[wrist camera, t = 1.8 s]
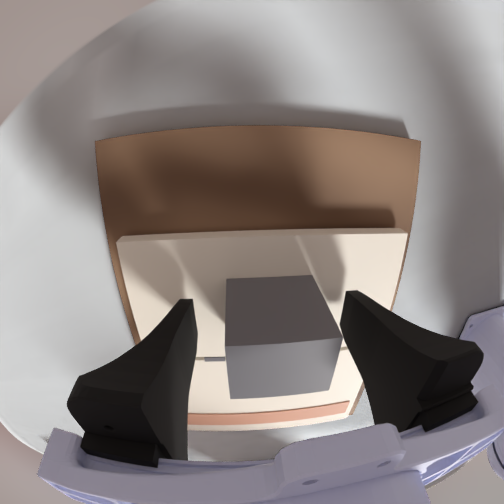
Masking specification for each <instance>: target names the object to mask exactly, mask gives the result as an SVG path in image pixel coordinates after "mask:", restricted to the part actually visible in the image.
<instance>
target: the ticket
mask: <svg viewBox="0 0 504 504" xmlns="http://www.w3.org/2000/svg"><path fill="white" fill-rule="evenodd" d="M362 382H363V380H362V377H361V375H360V373H359V371H358V369H357V366H356V364H355V362H354V360H353V358H352V356H351V354H350V352H349V350H348V348H347V346H346V347H341V348H340V352H339V356H338V360H337V364H336V368H335V371H334V375H333V378H332V382H331V385H330V389H329V390H328V391H321V392H314V393H306V394H298V395H289V396H278V397H266V398H249V399H230V392H229V383H228V374H227V365H226V356H225V357H196V358H195V364H194V369H193V374H192V380H191V385H190V391H189V401H188V425H187V430H189V431H246V430H263V429H275V428H285V427H294V426H302V425H309V424H316V423H322V422H328V421H334V420H339V419H344V418H347V417H348V415H349V413H350V411H351V408H352V406H353V404H354V401H355V399H356V397H357V394H358V392H359V390H360V387H361V385H362Z"/></svg>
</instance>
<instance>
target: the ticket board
mask: <svg viewBox="0 0 504 504" xmlns="http://www.w3.org/2000/svg"><path fill="white" fill-rule="evenodd" d="M420 148H421V141H418V140H413V139H408V138H402V137H396V136H390V135H383V134H376V133H369V132H361V131H352V130H343V129H332V128H319V127H302V126H271V125H247V126H215V127H198V128H185V129H175V130H165V131H156V132H148V133H141V134H134V135H127V136H121V137H115V138H109V139H104V140H99V141H95V150H96V162H97V172H98V181H99V189H100V197H101V204H102V210H103V216H104V222H105V228H106V234H107V239H108V244H109V249H110V253H111V258H112V263H113V267H114V271H115V275H116V279H117V283H118V287H119V291H120V295H121V299H122V302H123V306H124V309H125V313H126V316H127V319H128V323H129V326H130V329H131V332H132V335H133V338H134V341H135V344H136V345H137V344H138V343H139V342H140V341H141V339H140V336H139V333H138V329H137V326H136V323H135V319H134V316H133V312H132V309H131V305H130V301H129V297H128V293H127V290H126V285H125V281H124V277H123V273H122V268H121V264H120V259H119V254H118V250H117V244H116V242H117V241H118V240H119V239H120V238H121V237H122V236H132V235H150V234H171V233H193V232H217V231H246V230H281V229H332V228H401V229H402V230H404V231H405V232H407V233H408V235H407V241H406V246H405V251H404V256H403V260H402V265H401V269H400V274H399V278H398V282H397V286H396V290H395V294H394V297H393V301H392V305H391V308H390V311H391V312H392V309H393V305H394V302H395V298H396V294H397V291H398V287H399V283H400V279H401V275H402V271H403V266H404V262H405V257H406V253H407V248H408V243H409V237H410V232H411V226H412V220H413V214H414V207H415V200H416V192H417V184H418V174H419V162H420ZM364 388H365V386H364V382H362V385H361V387H360V390H359V392H358V394H357V397H356V399H355V401H354V404H353V406H352V408H351V411H350V413H349V415H353V412H354V410H355V408H356V406H357V404H358V402H359V399H360V397H361V395H362V392H363V390H364Z"/></svg>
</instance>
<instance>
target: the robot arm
mask: <svg viewBox="0 0 504 504" xmlns="http://www.w3.org/2000/svg"><path fill="white" fill-rule="evenodd" d="M339 325H340V328H341V332H342V335H343V338H344V341H345V343H346V345H347V348H348V350H349V352H350V354H351V356H352V358H353V360H354V362H355V364H356V366H357V369H358V371H359V373H360V375H361V377H362V380H363V382H364V386H365V389H366V392H367V395H368V399H369V402H370V406H371V410H372V414H373V419H374V424H375V425H373V426H369V427H365V428H361V429H357V430H353V431H348V432H344V433H339V434H334V435H329V436H323V437H317V438H311V439H307V440H303V441H299V442H294V443H292V444H290V445H288V446H286V447H284V448H282V449H281V450H280V451H279V453H278V454H277V455H276V456H275V459H271V460H258V461H236V462H207V461H188V454H187V425H188V401H189V391H190V385H191V380H192V374H193V369H194V364H195V358H196V353H197V341H198V330H197V324H196V317H195V311H194V304H193V299H179V300H178V301H177V303H176V304H175V305H174V306H173V308H172V309H171V310H170V311H169V312H168V314H167V315H166V316H165V317H164V318H163V319H162V321H161V322H160V323H159V324H158V325H157V326H156V327H155V328H154V329H153V330H152V331H151V332H150V333H149V334H148V335H147V336H146V337H145V338H144V339H143V340H142V341H140V342H139V343H138V344H137V345H136V346H134V347H133V348H132V349H130V350H129V351H127V352H126V353H124V354H123V355H121V356H120V357H118V358H117V359H115V360H113V361H112V362H110V363H108V364H106V365H104V366H102V367H100V368H98V369H96V370H93V371H91V372H89V373H86V374H84V375H81V376H79V377H78V379H77V381H76V383H75V385H74V387H73V389H72V391H71V394H70V396H69V398H68V401H67V407H68V410H69V411H70V413H71V415H72V416H73V417H74V419H75V420H76V421H77V422H78V424H79V425H80V426H81V427H82V429H83V430H84V431H85V433H84V436H83V438H82V437H81V436H79V435H77V434H74V433H71V432H67V431H64V430H61V429H58V428H53V431H52V433H51V436H50V438H49V441H48V444H47V446H46V449H45V452H44V455H43V458H42V461H41V464H40V467H39V470H38V473H37V475H38V476H39V477H40V478H41V479H43V480H44V481H45V482H47V483H48V484H50V485H51V486H53V487H54V488H55V489H57V490H59V491H60V492H62V493H63V494H65V495H66V496H68V497H70V498H72V499H74V500H77V501H80V502H83V503H86V504H431V502H430V499H429V497H428V494H427V492H426V489H425V487H424V486H425V485H427V484H429V483H431V482H432V481H434V480H436V479H438V478H440V477H441V476H443V475H445V474H447V473H448V472H450V471H452V470H453V469H455V468H457V467H458V466H460V465H461V464H463V463H464V462H466V461H468V460H469V459H471V458H472V457H474V456H475V455H477V454H478V453H480V452H481V451H482V450H484V449H485V448H487V456H488V460H489V463H490V465H491V467H492V469H493V470H494V472H495V473H496V474H497V475H498V476H499V477H501V478H502V479H503V480H504V306H501V307H498V308H495V309H492V310H488V311H485V312H482V313H478V314H475V315H472V316H470V317H469V318H468V320H467V322H466V325H465V327H464V329H463V331H462V334H461V336H460V338H459V339H455V338H451V337H448V336H444V335H441V334H437V333H435V332H432V331H429V330H426V329H424V328H421V327H419V326H417V325H415V324H413V323H411V322H409V321H407V320H405V319H403V318H401V317H400V316H398V315H396V314H394V313H393V312H391V311H390V310H388V309H386V308H385V307H383V306H382V305H380V304H379V303H377V302H376V301H374V300H373V299H371V298H370V297H368V296H367V295H365V294H363V293H362V292H360V291H358V290H351V291H346V293H345V298H344V304H343V309H342V314H341V319H340V324H339Z"/></svg>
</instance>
